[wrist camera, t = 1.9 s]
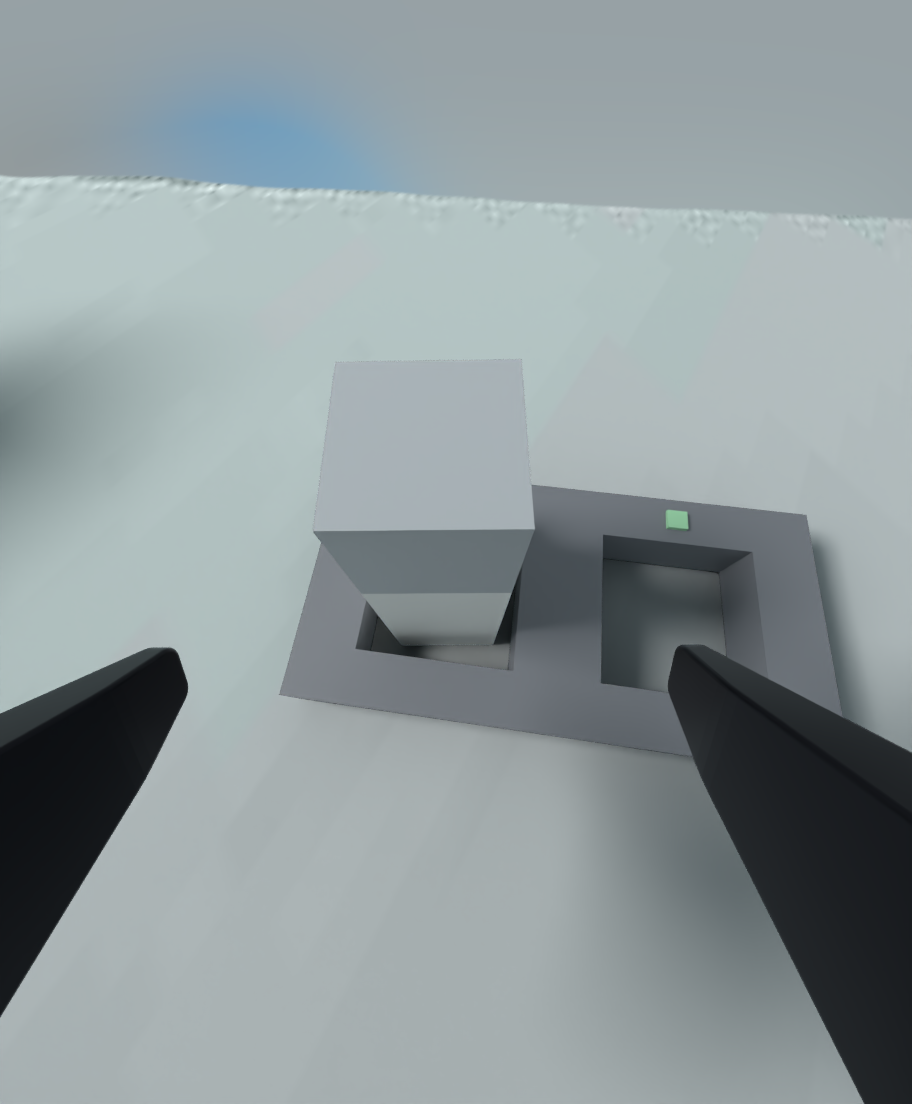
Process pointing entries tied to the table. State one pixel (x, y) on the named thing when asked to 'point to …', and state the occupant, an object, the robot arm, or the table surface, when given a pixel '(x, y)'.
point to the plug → (428, 492)
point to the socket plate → (584, 623)
